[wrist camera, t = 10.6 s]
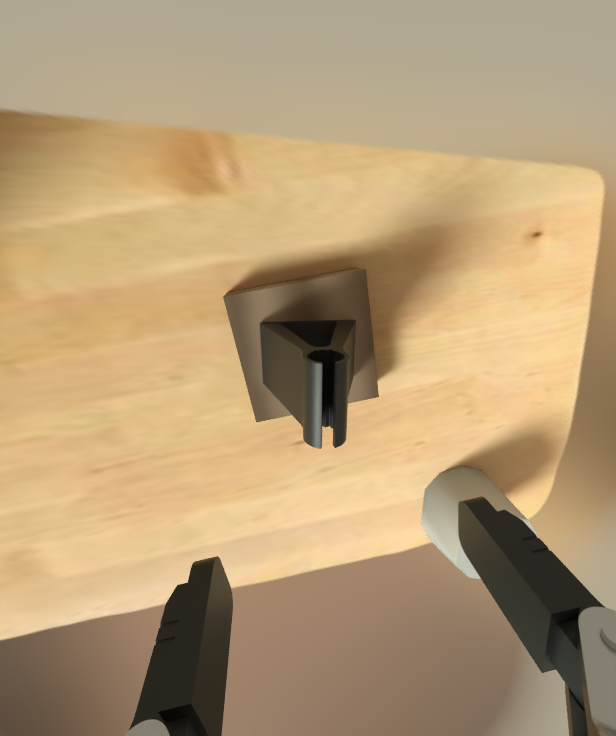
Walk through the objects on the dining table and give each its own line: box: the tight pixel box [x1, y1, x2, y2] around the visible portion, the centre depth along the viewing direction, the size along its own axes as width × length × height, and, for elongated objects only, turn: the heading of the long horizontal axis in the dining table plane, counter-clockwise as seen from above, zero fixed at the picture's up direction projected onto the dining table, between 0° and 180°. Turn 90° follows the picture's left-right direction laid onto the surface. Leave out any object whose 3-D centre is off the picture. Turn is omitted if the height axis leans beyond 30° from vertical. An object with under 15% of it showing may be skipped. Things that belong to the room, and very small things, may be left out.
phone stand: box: [260, 320, 356, 449], centre depth 26 cm, size 9×6×12 cm, turn 89°
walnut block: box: [223, 268, 379, 422], centre depth 33 cm, size 13×13×3 cm
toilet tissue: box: [421, 466, 538, 579], centre depth 41 cm, size 9×13×9 cm
